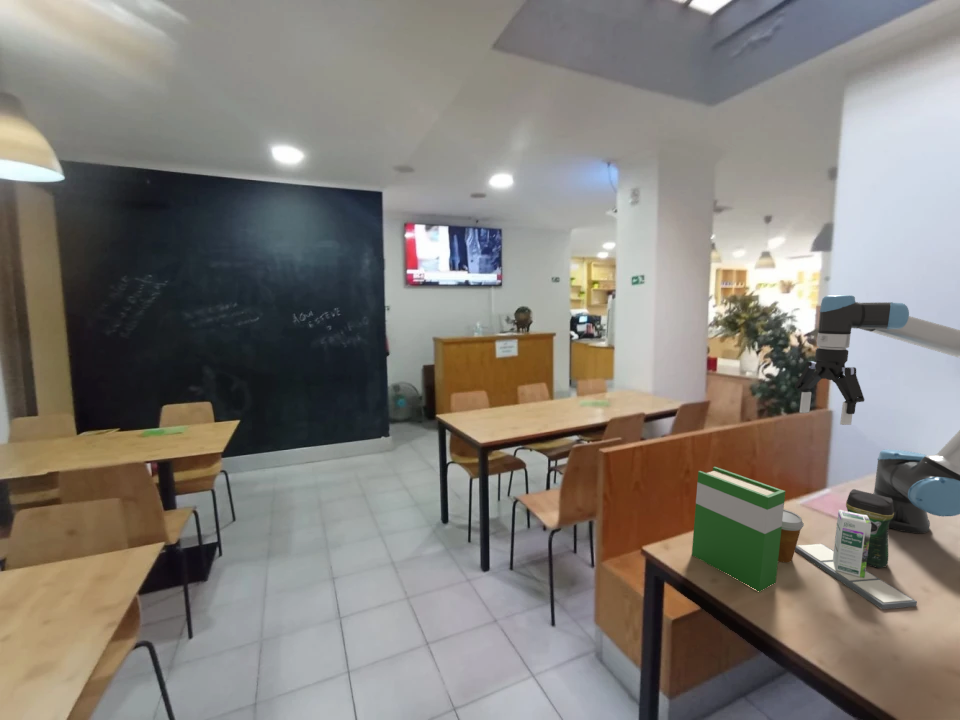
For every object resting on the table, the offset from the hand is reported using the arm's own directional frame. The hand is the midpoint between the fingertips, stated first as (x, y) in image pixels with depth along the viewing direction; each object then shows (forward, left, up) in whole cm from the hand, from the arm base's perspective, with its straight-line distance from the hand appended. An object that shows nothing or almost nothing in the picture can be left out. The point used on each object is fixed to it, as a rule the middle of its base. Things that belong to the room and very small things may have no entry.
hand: (823, 418), depth 129 cm
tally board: (+12, +23, -35) cm, 43 cm away
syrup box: (+12, +23, -34) cm, 42 cm away
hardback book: (+40, +17, -35) cm, 56 cm away
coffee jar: (+1, +17, -35) cm, 39 cm away
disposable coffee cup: (+23, +13, -35) cm, 44 cm away
